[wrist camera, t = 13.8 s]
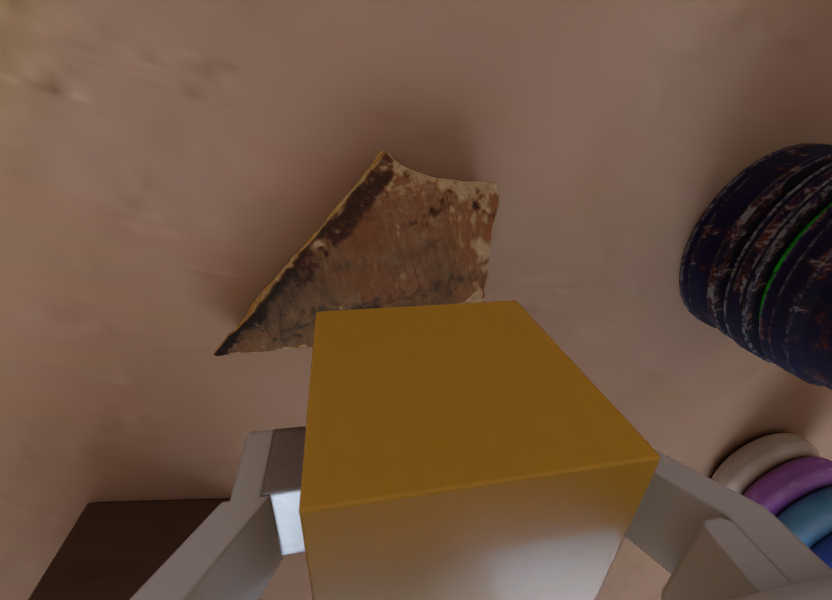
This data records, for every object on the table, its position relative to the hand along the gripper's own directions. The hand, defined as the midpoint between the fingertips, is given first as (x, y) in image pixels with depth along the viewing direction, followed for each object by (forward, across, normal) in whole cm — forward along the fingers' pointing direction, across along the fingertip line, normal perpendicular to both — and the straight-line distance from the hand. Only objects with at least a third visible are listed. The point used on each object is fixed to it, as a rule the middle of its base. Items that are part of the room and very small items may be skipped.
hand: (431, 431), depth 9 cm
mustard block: (+2, 0, 0) cm, 2 cm away
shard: (+9, 0, 0) cm, 9 cm away
